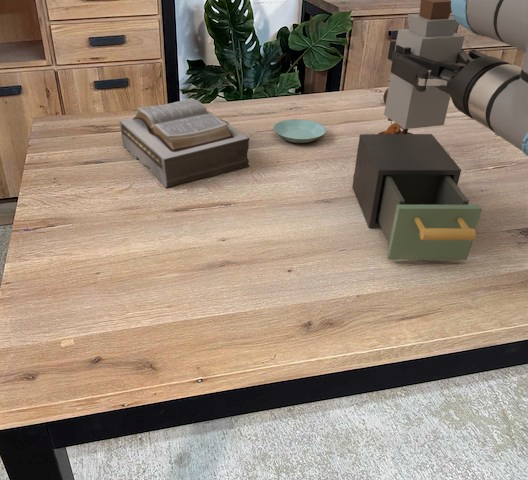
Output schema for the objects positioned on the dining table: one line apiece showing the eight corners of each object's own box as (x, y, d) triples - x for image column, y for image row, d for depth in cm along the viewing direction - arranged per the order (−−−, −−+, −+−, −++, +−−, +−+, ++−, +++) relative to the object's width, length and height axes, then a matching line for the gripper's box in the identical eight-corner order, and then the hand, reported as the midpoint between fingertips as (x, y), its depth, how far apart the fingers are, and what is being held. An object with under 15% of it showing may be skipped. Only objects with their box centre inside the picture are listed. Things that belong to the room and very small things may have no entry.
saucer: (331, 132, 125) (332, 123, 124) (315, 151, 116) (316, 141, 115) (283, 125, 130) (284, 116, 128) (265, 142, 121) (265, 133, 120)
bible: (214, 127, 129) (214, 87, 124) (256, 173, 108) (258, 127, 102) (119, 140, 124) (114, 98, 118) (143, 192, 102) (138, 144, 97)
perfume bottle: (420, 110, 90) (444, -5, 80) (443, 125, 85) (472, 2, 75) (384, 114, 89) (403, -3, 79) (404, 129, 83) (428, 5, 74)
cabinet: (446, 228, 89) (461, 169, 83) (368, 228, 90) (378, 170, 84) (419, 187, 102) (431, 133, 96) (352, 187, 102) (359, 134, 96)
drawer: (479, 279, 76) (496, 226, 71) (396, 278, 77) (408, 226, 72) (437, 214, 91) (449, 166, 87) (369, 213, 92) (377, 166, 87)
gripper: (417, 127, 67) (351, 75, 87) (553, 118, 69) (459, 69, 89) (430, 67, 63) (357, 26, 83) (574, 59, 65) (470, 21, 85)
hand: (410, 48), depth 86 cm, fingers closed on perfume bottle, 6 cm apart
